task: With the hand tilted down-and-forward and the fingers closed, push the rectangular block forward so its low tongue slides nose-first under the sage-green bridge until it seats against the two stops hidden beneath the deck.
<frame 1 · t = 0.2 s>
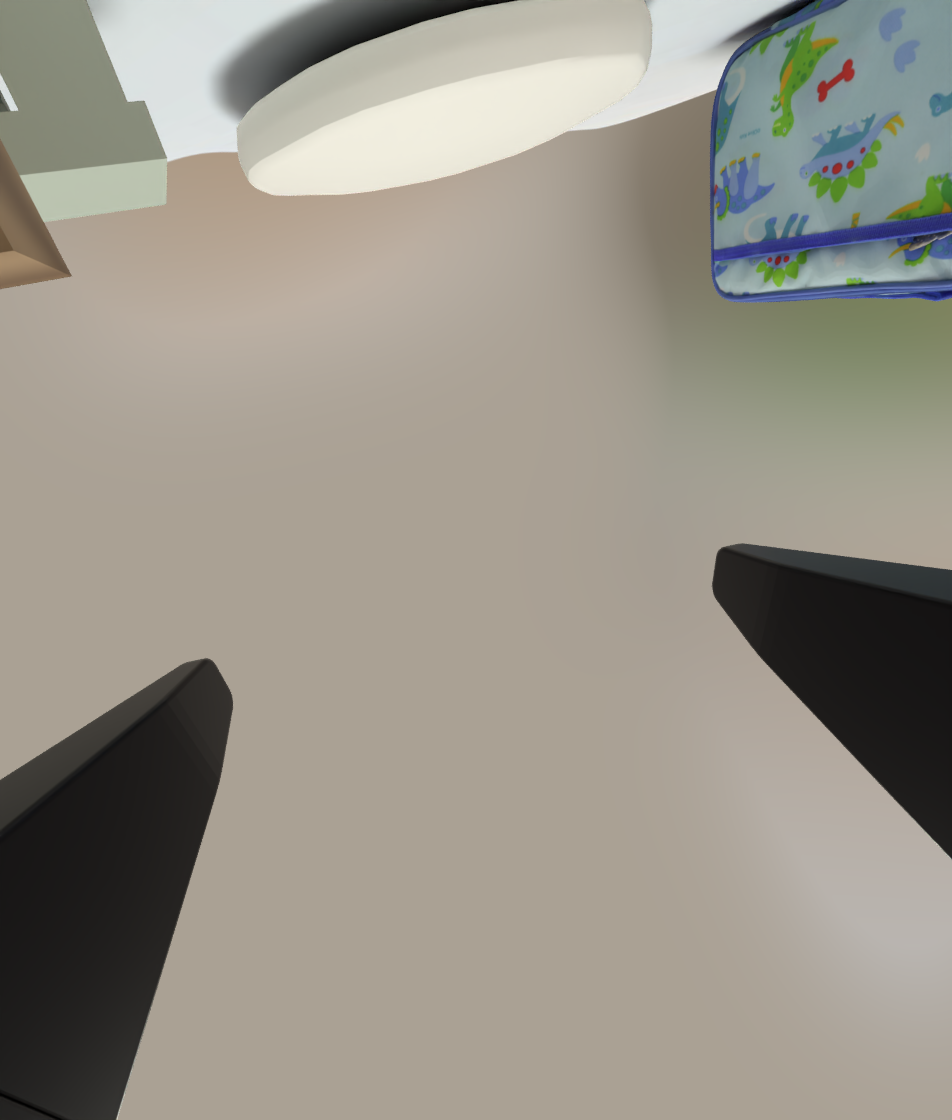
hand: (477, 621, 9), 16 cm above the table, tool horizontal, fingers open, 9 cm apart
plate: (428, 54, 34), on the table
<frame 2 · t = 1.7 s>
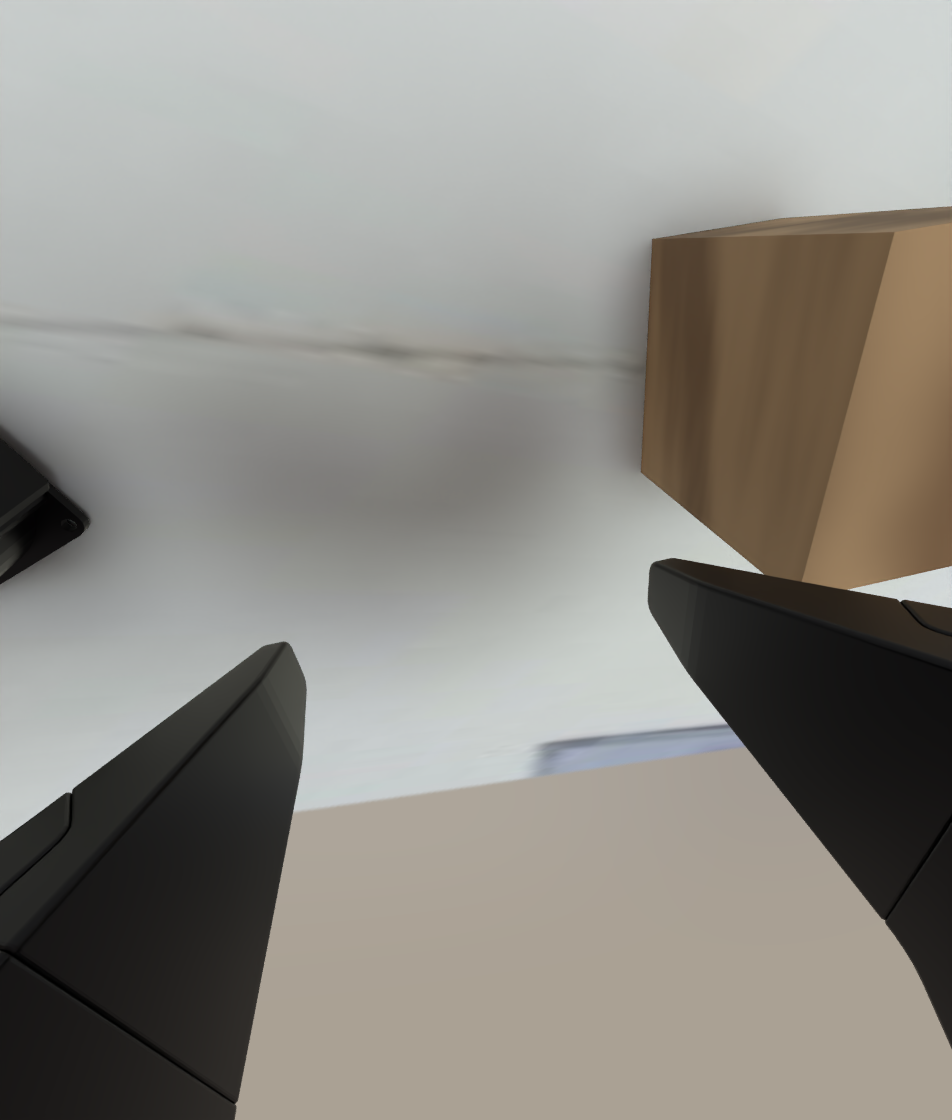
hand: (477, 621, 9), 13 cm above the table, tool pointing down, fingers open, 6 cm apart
rectangular block: (704, 358, 21), on the table
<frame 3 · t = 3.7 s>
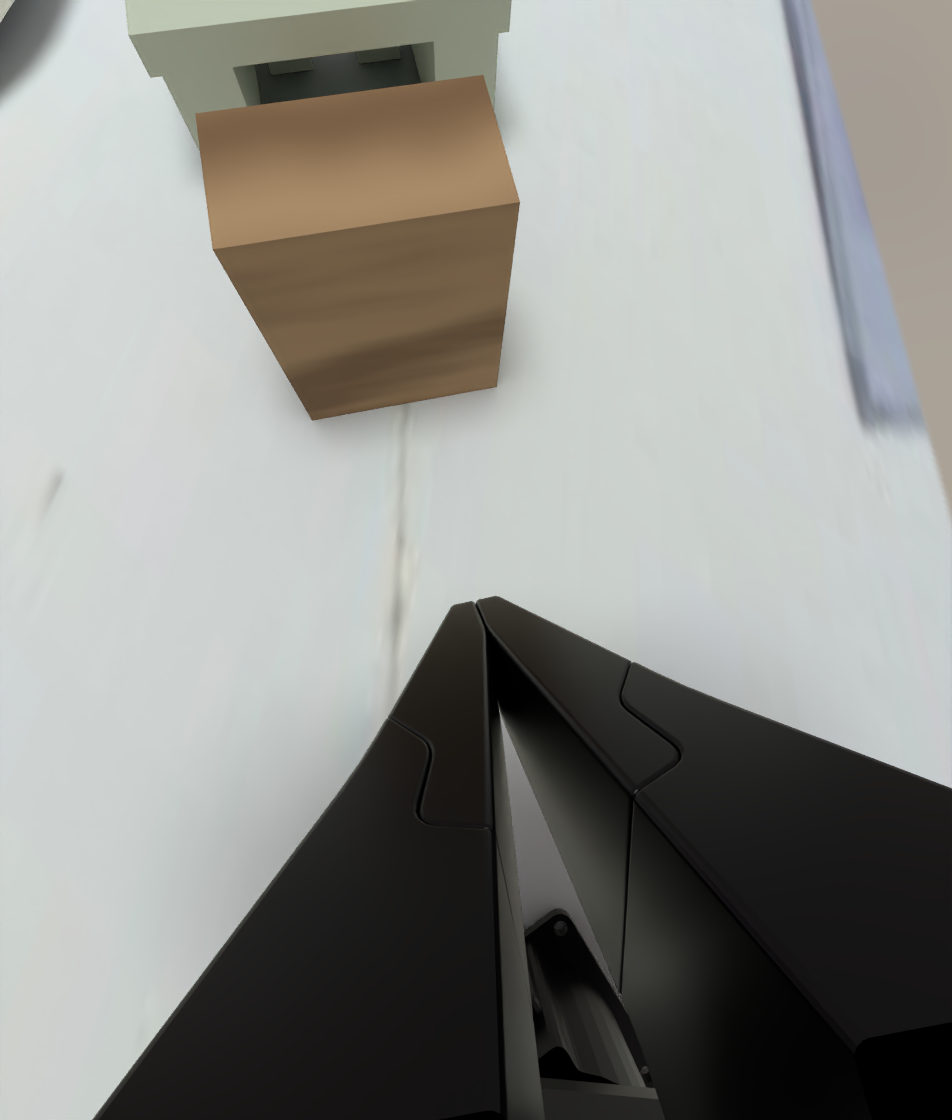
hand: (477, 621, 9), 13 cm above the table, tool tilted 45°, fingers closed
bridge: (343, 100, 29), on the table
rectangular block: (396, 358, 25), on the table
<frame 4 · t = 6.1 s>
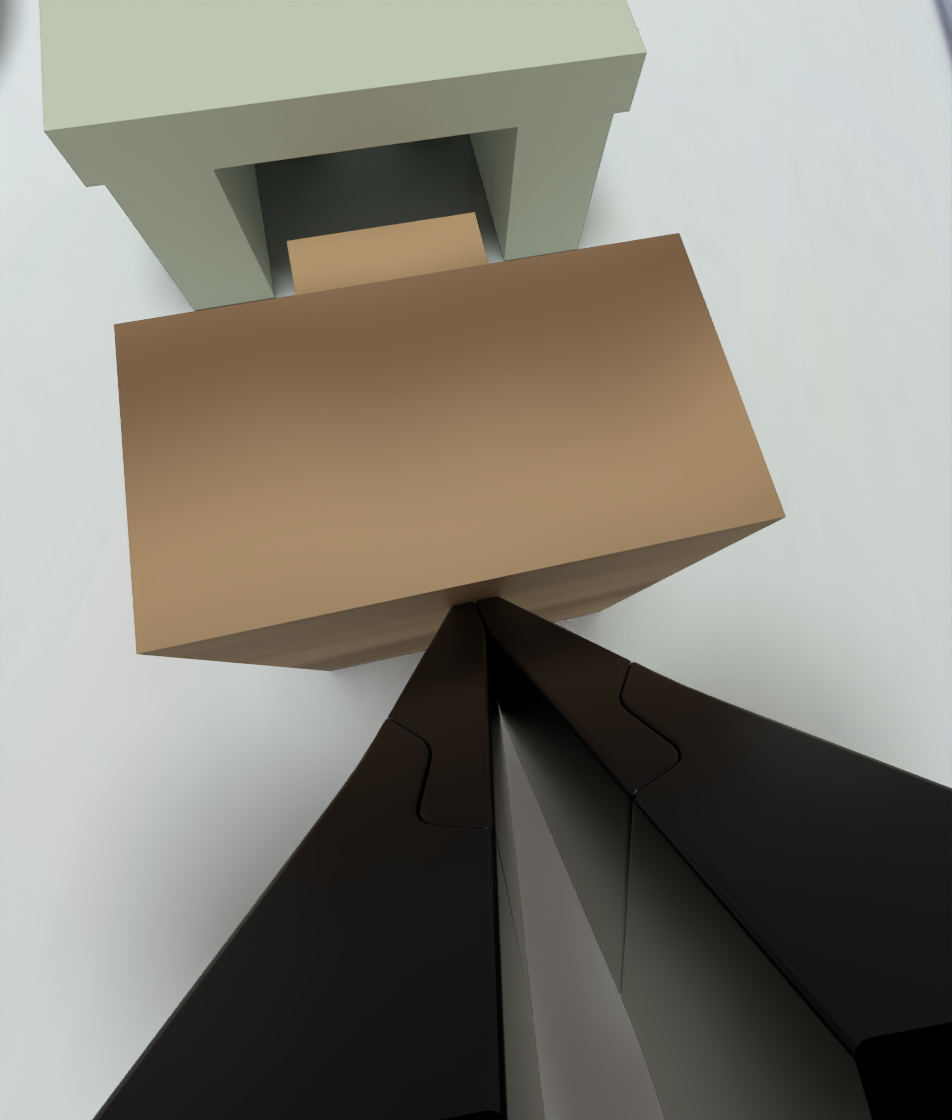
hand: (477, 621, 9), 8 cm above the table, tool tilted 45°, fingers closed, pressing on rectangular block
bridge: (371, 187, 21), on the table
rectangular block: (451, 567, 17), on the table, touching gripper
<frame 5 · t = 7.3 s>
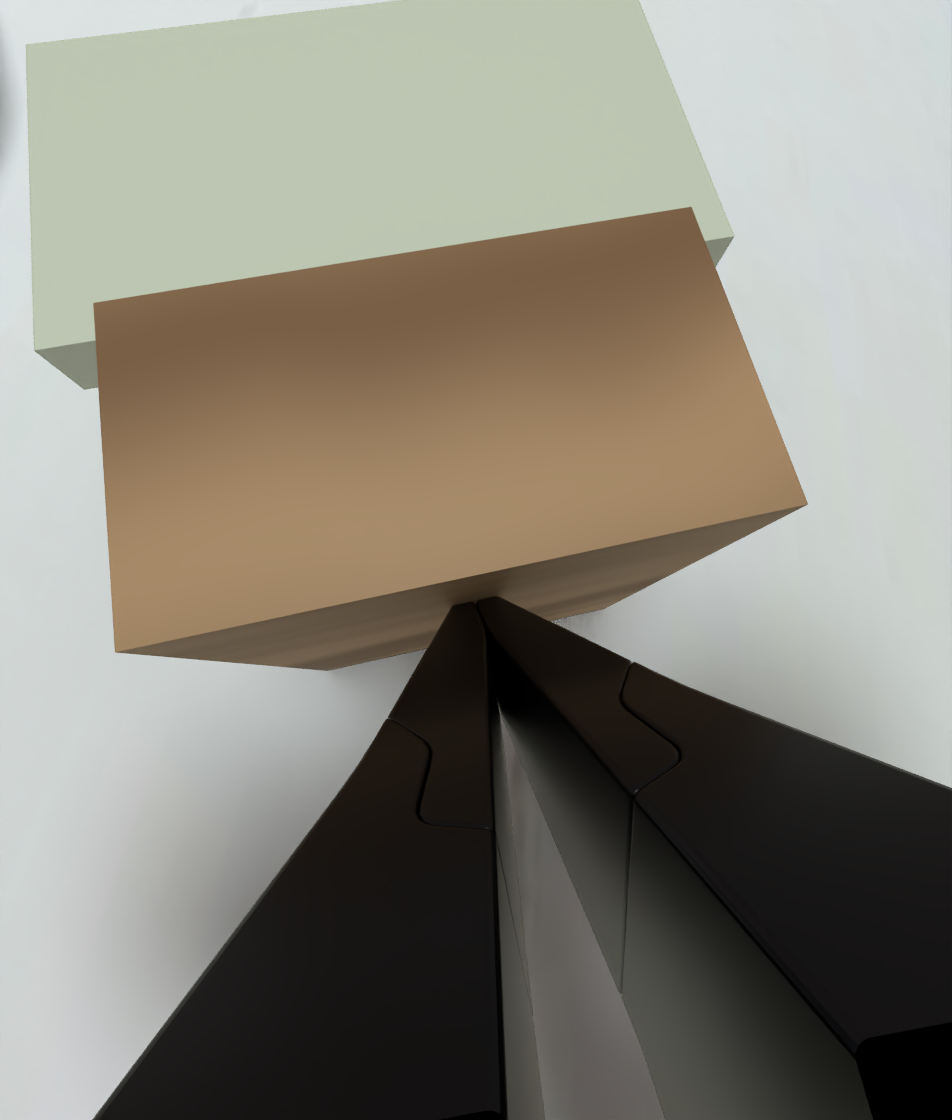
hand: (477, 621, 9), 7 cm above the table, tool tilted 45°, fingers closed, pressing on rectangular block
bridge: (400, 320, 19), on the table
rectangular block: (452, 564, 17), on the table, touching gripper
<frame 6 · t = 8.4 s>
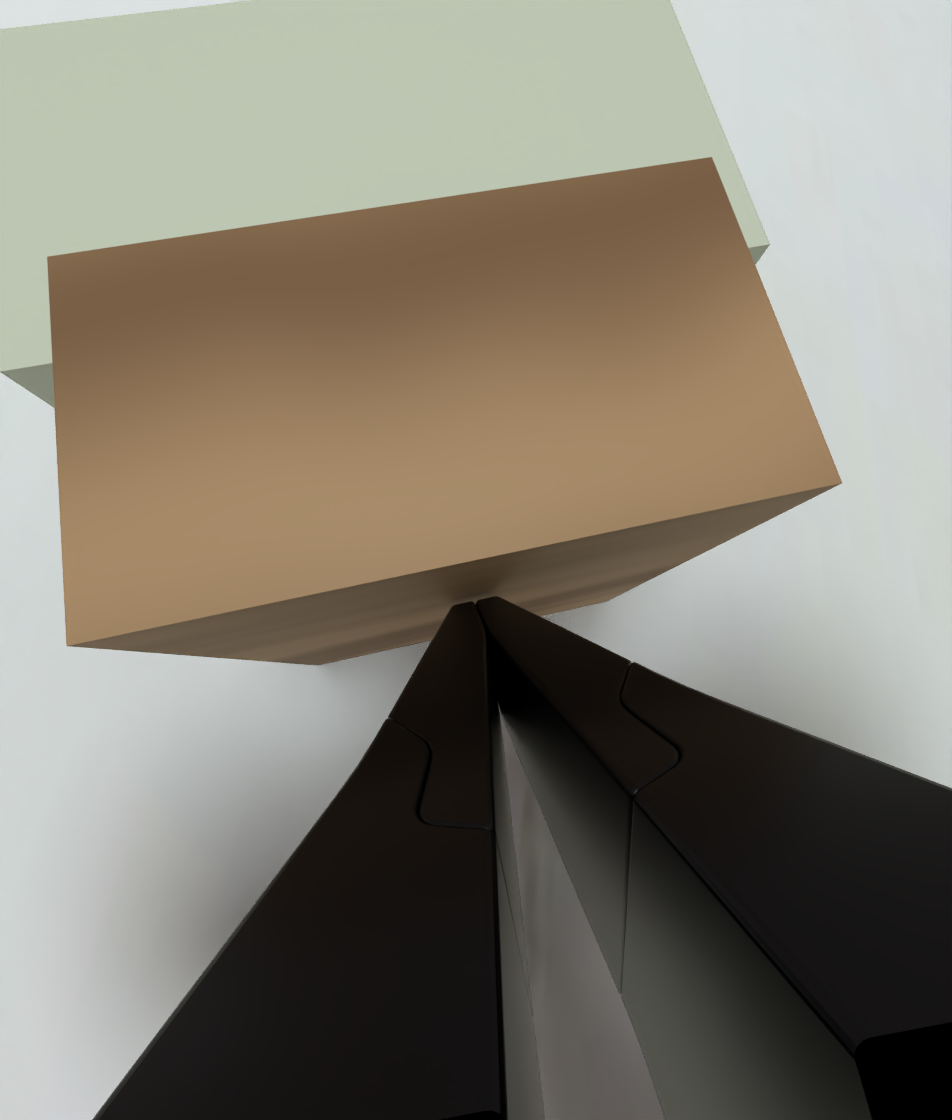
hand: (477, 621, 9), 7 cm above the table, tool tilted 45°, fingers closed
bridge: (402, 327, 18), on the table
rectangular block: (448, 554, 16), on the table
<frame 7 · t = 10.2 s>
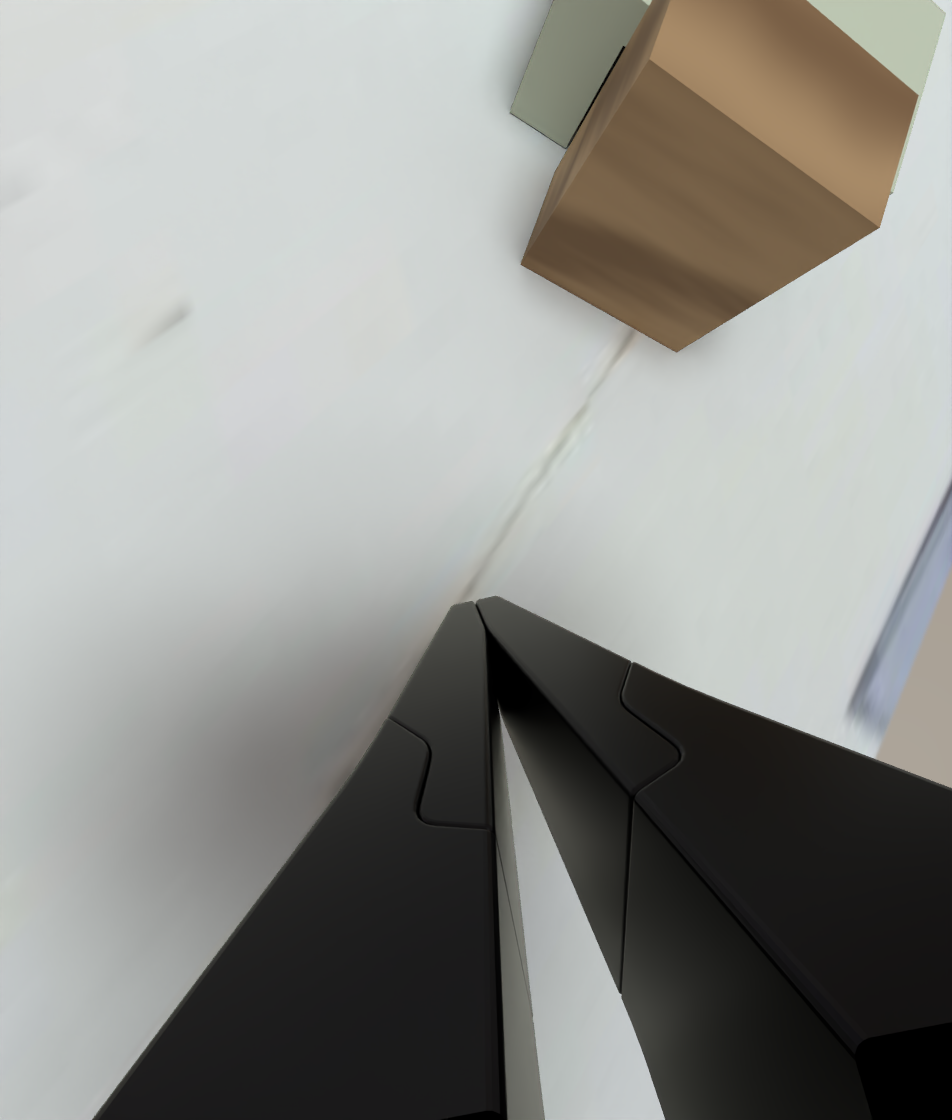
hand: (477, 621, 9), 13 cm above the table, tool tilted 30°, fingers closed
bridge: (670, 122, 26), on the table
rectangular block: (617, 265, 25), on the table
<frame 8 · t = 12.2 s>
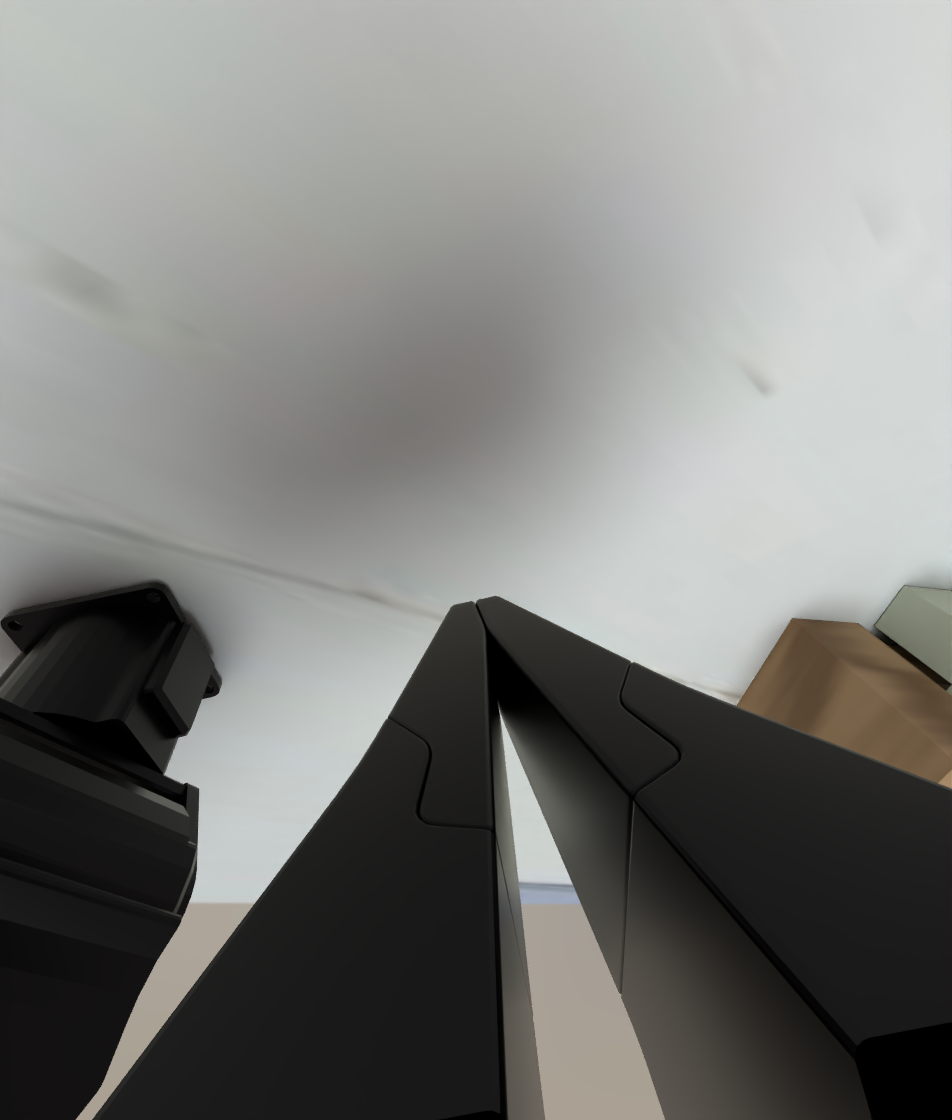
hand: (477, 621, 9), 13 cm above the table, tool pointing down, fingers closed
bridge: (886, 681, 35), on the table
rectangular block: (788, 676, 33), on the table
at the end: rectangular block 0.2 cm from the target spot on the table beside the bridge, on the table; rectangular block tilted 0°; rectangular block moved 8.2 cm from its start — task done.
